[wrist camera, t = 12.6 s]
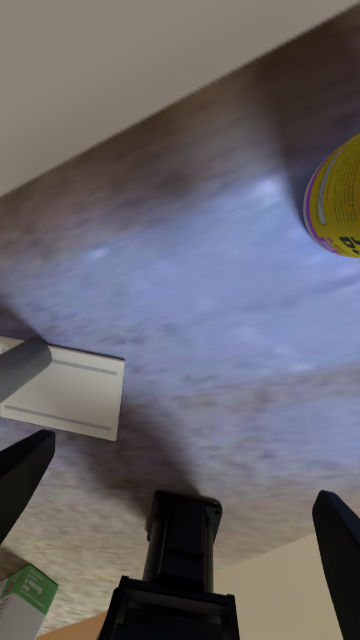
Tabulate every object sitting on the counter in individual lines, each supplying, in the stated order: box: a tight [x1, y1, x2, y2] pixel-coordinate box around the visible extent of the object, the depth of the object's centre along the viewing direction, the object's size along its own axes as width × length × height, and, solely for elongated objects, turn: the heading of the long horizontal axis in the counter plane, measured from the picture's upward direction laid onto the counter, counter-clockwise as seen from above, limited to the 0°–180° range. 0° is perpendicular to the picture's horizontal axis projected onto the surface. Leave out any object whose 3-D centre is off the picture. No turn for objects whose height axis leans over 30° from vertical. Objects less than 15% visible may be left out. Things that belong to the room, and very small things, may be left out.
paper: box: [0, 336, 125, 441], centre depth 23 cm, size 8×11×1 cm
